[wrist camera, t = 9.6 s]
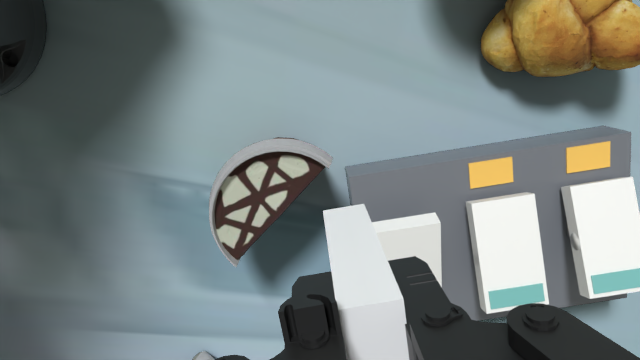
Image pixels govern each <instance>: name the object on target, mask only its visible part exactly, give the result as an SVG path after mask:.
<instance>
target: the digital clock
mask: <svg viewBox="0 0 640 360" xmlns="http://www.w3.org/2000/svg"><path fill="white" fill-rule="evenodd" d="M192 360H215V359H214V358H213V357H212V356H211V355H210V354H208V353H207V352H205V351H203V352H200V353H198V354H197V355H196V356H195V357H194V358H193V359H192Z"/></svg>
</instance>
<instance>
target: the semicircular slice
mask: <svg viewBox="0 0 640 360" xmlns="http://www.w3.org/2000/svg"><path fill="white" fill-rule="evenodd" d="M332 159H333V157H332V156H330V155H329V154H328V153H326V152H325V151H323V150H322V149H320V148H318V147H316V146H314V145H312V144H309V143H306V142H303V141H299V140H297V139H294V138H279V137H278V138H274V139H270V140H264V141H261V142H257V143H254V144H252V145H250V146H248V147H245V148H243V149H242V150H240V151H239V152H238V153H236V154H235V155H233V156H232V157H231V158H230V159H229V160H228V161H227V162H226V163H225V164H224V166H223V167H222V169H221V170H220V171H219V173H218V175H217V177H216V179H215V181H214V183H213V186H212V189H211V193H210V200H209V221H210V226H211V231H212V234H213V236H214V239H215V241H216V243H217V245H218V247H219V248H220V250H221V252H222V253H223V254H224V255H225V257H226V258H227V259H228V260H229V261H230V262H231V263H232V264H233V265H234V266H235V267H237V265H238V262H239V260H240V258H241V256H243V255H244V254H245V252H246V251H247V250H248V249H249V248H250V246H251V245H252V244H253V243H254V242H255V241H256V240H257V239H258V238H259V237H260V236H261V235H262V234H263V233H264V232H265V231H266V230H267V229H268V228H269V227H270V226H271V225H272V224H273V223H274V222H275V221H276V220H277V219H278V218H279V217H280V216H281V215H282V213H283V212H284V211H285V210H286V209H287V208H288V207H289V206H290V204H291V203H292V202H293V201H294V200H295V199H296V198H297V197H298V196H299V195H300V194H301V192H302V191H303V190H304V189H305V188H306V187H307V186H308V185H309V184H310V183H311V182H312V181H313V180H314V179H315V177H316V176H317V175H318V174H319V173H320V172H321V171H322V170H323V169H324V168H325V166H326V167H327V168H328V169H329V168H330V167H329V166H330V165H331V163H332Z"/></svg>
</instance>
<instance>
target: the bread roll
mask: <svg viewBox="0 0 640 360" xmlns="http://www.w3.org/2000/svg"><path fill="white" fill-rule="evenodd" d="M481 53H482V55H483V57H484V58H485V60H486V61H487V62H489V63H490V64H491V65H493V66H494V67H495V68H497V69H500V70H502V71H505V72H517V71H522V70H525V71H527V72H528V73H530V74H531V75H533V76H537V77H556V76H565V75H570V74H574V73H578V72H582V71H589V70H592V69H593V68H594V66H596V67H597V68H599V69H605V70H621V69H626V68H632V67H635V66H637V65H640V7H638V6H637V5H635V4H634V3H632V0H507V1H506V3H505V8H504V9H502V10H500V11H499V13H498V14H496V15H495V17H494V18H493V19H492V21H491V22H490V23H489V25H488V26H487V28H486V30H485V31H484V32H483V35H482V38H481Z"/></svg>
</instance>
